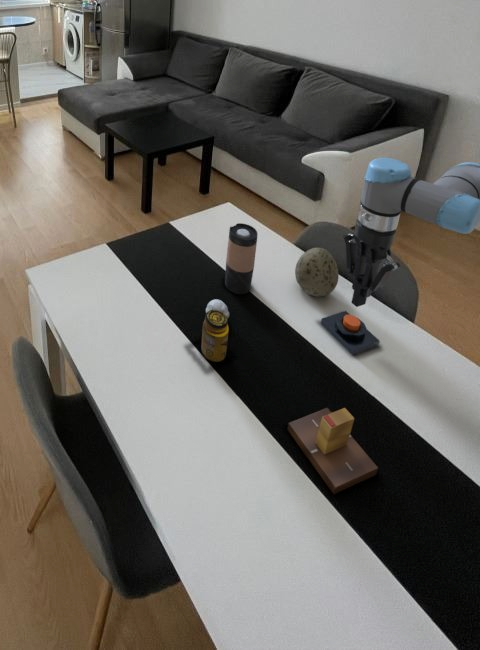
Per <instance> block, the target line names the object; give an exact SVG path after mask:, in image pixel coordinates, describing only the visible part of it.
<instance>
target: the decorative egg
mask: <svg viewBox="0 0 480 650" xmlns="http://www.w3.org/2000/svg"><path fill="white" fill-rule="evenodd" d="M294 275H295V276H294V277H295V280H296V282H297V285H298V286H299V287H300V288H301V290H302V291H304V292H305V293H306V294H307V295H310V296H313V297H317V298H318V297H325V296H328V295H330V294H332V292H333V291H334V290H336V287H337V285H338V283H339V268H338V265H337V262H336V259H335V258H334V257H333V255H332V253H330V251H328V250H327V249H325V248H323V247H312V248H310V249H308V250H306V251H305V252H304V253H302V254H301V255H300V256H299V258H298V260H297V262H296V264H295V268H294Z"/></svg>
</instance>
